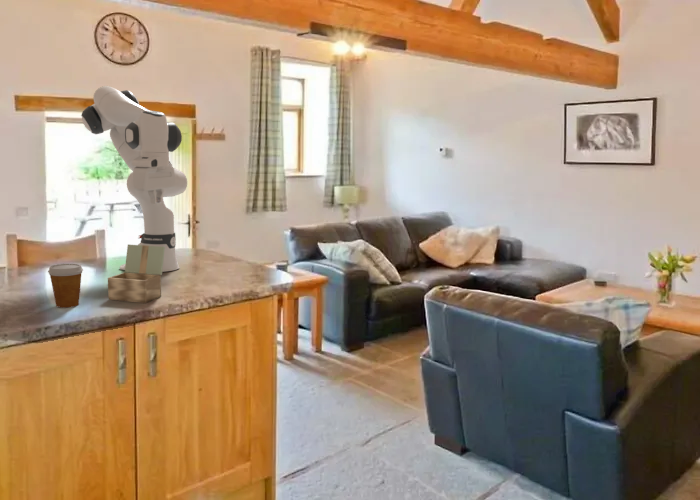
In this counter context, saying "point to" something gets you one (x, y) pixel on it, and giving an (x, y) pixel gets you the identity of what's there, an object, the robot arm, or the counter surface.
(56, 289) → the disposable coffee cup
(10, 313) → the counter surface
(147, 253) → the lid
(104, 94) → the robot arm
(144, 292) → the box
